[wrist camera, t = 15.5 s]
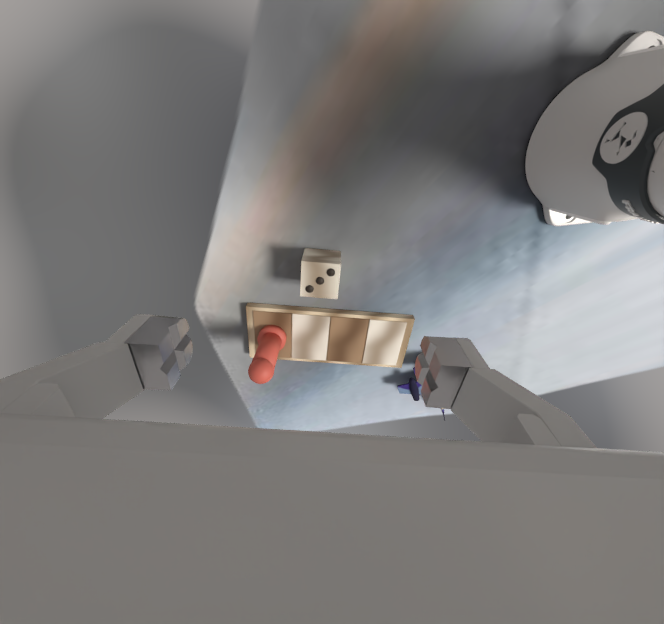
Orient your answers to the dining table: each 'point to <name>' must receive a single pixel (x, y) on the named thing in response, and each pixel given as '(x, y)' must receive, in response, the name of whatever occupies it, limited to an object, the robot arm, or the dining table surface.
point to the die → (320, 273)
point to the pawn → (266, 353)
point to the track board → (333, 334)
